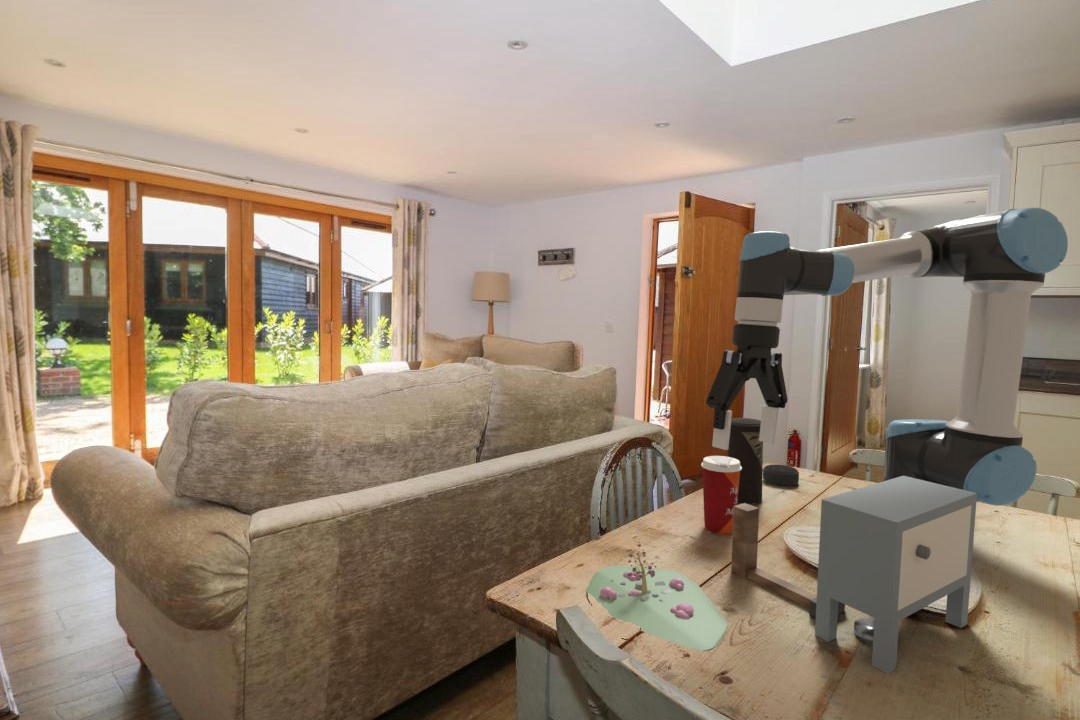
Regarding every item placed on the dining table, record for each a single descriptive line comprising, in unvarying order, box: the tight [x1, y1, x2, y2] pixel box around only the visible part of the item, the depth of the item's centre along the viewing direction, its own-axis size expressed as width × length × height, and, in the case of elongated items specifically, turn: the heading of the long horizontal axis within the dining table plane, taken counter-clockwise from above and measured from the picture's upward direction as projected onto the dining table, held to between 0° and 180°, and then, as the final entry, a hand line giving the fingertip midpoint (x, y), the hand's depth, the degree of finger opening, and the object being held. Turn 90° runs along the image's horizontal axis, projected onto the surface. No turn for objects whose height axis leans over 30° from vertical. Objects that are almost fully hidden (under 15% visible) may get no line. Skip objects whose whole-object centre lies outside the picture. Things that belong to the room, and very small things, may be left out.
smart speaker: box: [762, 464, 800, 487], centre depth 152 cm, size 9×9×4 cm
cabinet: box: [814, 476, 977, 674], centre depth 81 cm, size 22×11×20 cm, turn 121°
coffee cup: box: [700, 455, 742, 536], centre depth 119 cm, size 8×8×15 cm
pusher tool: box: [730, 503, 846, 620], centre depth 93 cm, size 18×6×12 cm, turn 31°
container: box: [727, 417, 764, 505], centre depth 137 cm, size 9×9×20 cm
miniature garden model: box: [586, 543, 728, 653], centre depth 89 cm, size 25×21×9 cm
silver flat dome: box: [853, 617, 875, 646], centre depth 80 cm, size 5×5×2 cm
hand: (744, 445), depth 98 cm, fingers open, 13 cm apart
